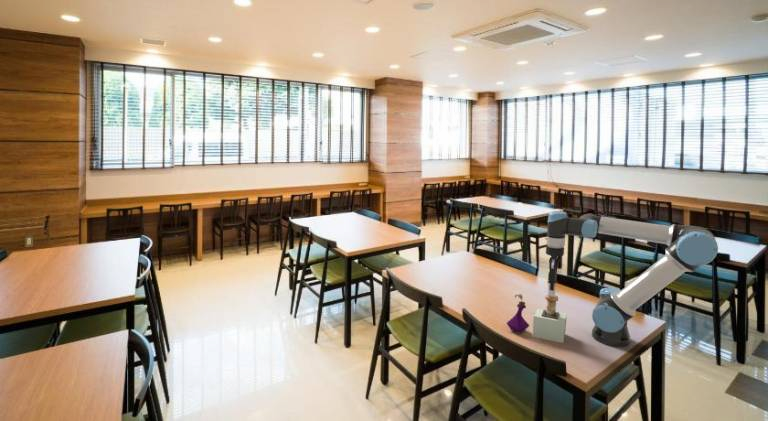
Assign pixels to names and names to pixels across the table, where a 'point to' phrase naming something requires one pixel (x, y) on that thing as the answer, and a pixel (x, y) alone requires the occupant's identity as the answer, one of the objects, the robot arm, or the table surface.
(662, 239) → the robot arm
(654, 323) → the table surface
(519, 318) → the perfume bottle
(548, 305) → the peg
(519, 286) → the table surface
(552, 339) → the socket block
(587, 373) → the table surface
